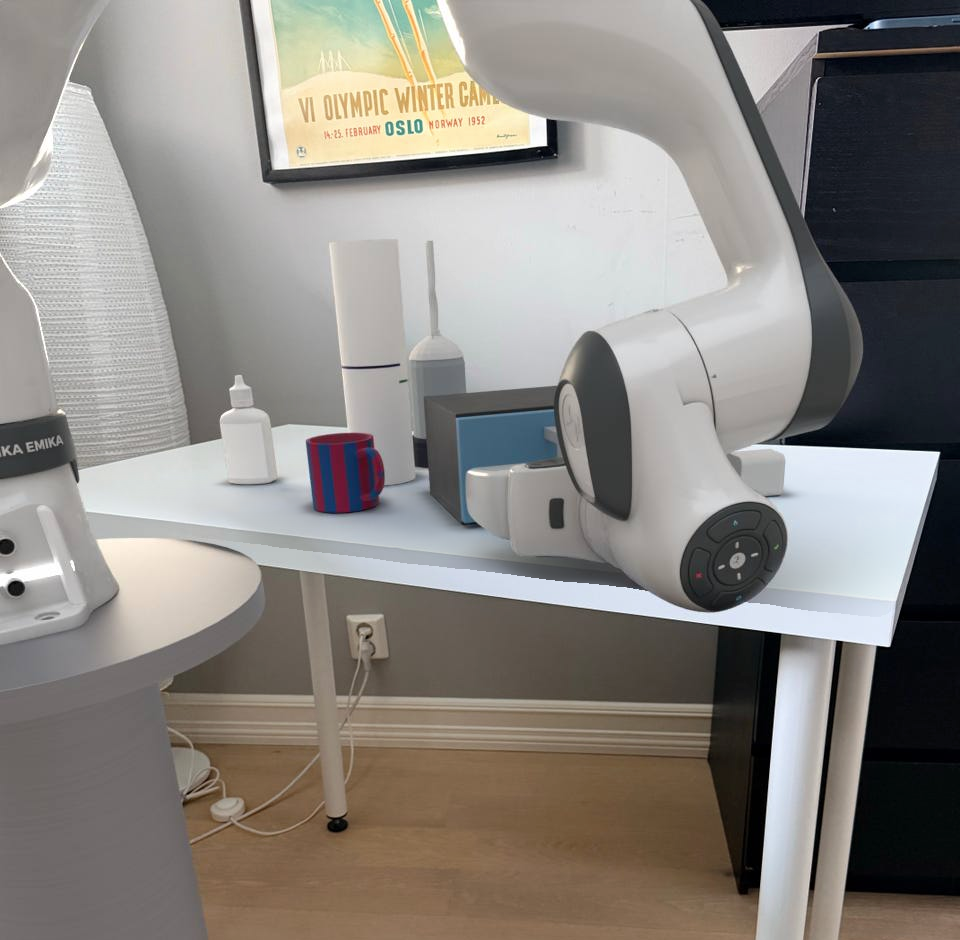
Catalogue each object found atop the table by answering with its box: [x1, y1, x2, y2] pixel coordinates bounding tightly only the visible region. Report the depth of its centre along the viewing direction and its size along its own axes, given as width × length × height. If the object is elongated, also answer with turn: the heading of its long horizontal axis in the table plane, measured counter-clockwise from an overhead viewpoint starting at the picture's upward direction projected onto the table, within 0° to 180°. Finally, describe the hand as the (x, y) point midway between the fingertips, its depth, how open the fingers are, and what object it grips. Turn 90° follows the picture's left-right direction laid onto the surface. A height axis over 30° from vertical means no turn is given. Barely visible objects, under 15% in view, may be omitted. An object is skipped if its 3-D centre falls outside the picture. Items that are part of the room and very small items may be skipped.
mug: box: [305, 432, 385, 514], centre depth 92 cm, size 7×10×7 cm
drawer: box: [456, 409, 563, 524], centre depth 87 cm, size 19×16×9 cm
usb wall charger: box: [726, 448, 786, 497], centre depth 90 cm, size 4×7×4 cm, turn 99°
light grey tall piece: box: [407, 240, 467, 468], centre depth 110 cm, size 8×8×25 cm
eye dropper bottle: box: [219, 374, 278, 485], centre depth 106 cm, size 4×6×12 cm
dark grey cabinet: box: [424, 385, 557, 525], centre depth 92 cm, size 14×16×10 cm
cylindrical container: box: [328, 238, 416, 487], centre depth 101 cm, size 7×7×25 cm
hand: (563, 467), depth 80 cm, fingers closed on drawer, 2 cm apart
